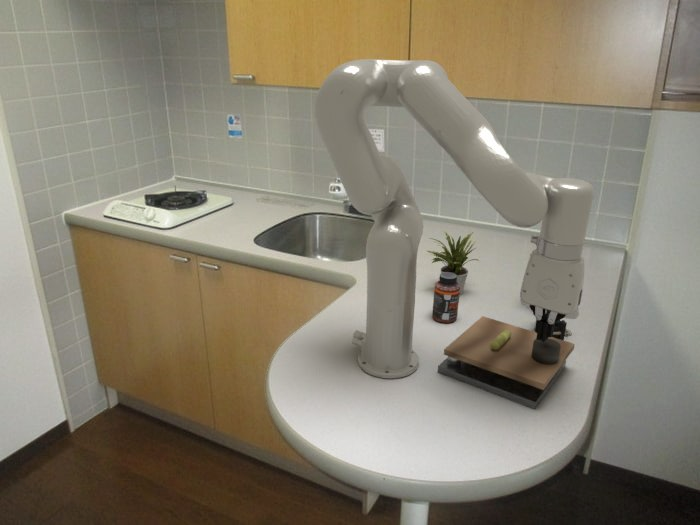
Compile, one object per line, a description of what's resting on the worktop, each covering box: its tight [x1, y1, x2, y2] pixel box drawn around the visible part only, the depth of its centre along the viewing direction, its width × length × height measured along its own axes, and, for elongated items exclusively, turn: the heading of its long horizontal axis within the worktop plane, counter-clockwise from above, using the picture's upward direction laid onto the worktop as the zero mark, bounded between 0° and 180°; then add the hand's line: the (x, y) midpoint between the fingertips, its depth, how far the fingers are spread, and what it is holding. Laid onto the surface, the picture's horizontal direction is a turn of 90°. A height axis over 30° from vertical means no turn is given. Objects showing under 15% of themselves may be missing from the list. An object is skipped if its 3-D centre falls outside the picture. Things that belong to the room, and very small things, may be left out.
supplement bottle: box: [432, 272, 460, 324], centre depth 136 cm, size 6×6×11 cm
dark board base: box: [437, 356, 567, 410], centre depth 117 cm, size 20×18×4 cm
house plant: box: [427, 230, 481, 296], centre depth 150 cm, size 14×14×16 cm
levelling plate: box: [443, 315, 575, 390], centre depth 114 cm, size 20×18×4 cm
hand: (543, 337), depth 110 cm, fingers closed
